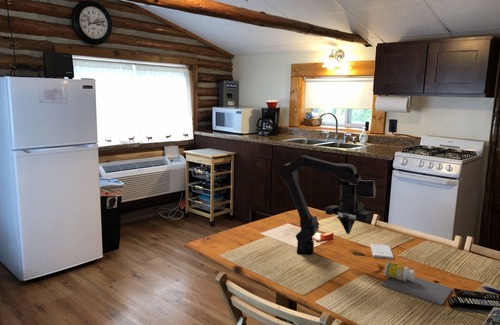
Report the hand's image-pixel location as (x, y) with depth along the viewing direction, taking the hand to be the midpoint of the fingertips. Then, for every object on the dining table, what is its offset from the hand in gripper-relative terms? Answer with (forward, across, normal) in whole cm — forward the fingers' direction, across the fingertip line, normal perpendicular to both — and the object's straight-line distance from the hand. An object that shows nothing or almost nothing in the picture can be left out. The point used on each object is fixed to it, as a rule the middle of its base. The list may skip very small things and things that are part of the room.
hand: (348, 233), depth 156 cm
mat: (+13, -29, +1) cm, 32 cm away
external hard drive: (+13, -4, -19) cm, 23 cm away
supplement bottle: (+9, -17, +2) cm, 20 cm away
